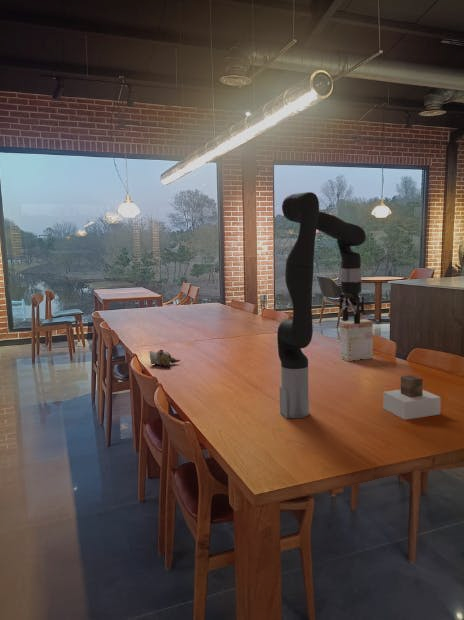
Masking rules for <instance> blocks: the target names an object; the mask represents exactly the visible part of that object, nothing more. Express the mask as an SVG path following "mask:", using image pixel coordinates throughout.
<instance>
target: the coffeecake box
mask: <svg viewBox="0 0 464 620" xmlns="http://www.w3.org/2000/svg"><path fill="white" fill-rule="evenodd" d="M339 323H340V324H339V330H340V331H339V332H340V333H339V335H340V339H339V340H340V342H339V343H340V359H341V358H342V359H344V360H343V361H345V360H346V362H347V361H348V362H353V360H355V361H361V360H360V359H363V360H369V359H373V351H374V350H373V347H374V346H373V340H374V339H373V338H374V335H373V320H369V319H367V318H364V319H360V324H354V319H353V320H348V321H343V320H342V321H340V322H339ZM342 359H341V360H342Z"/></svg>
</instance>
